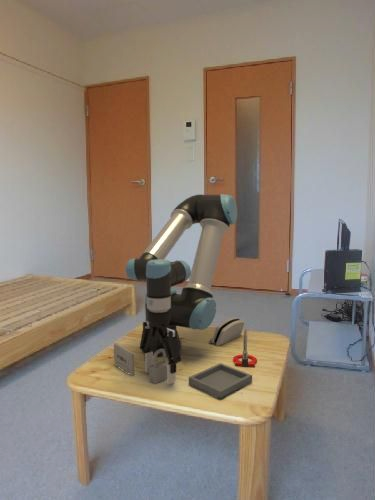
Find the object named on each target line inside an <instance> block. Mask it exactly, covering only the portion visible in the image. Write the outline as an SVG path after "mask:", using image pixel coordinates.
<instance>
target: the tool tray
mask: <svg viewBox="0 0 375 500" xmlns="http://www.w3.org/2000/svg"><path fill="white" fill-rule="evenodd" d="M252 383H253V374H250V373H247V372H245V371H242V370H240V369H237V368H235V367H233V366H229V365H227V364H224V363H223V362H222V363H221V362H220V363H218V364H215V365H213V366H211V367H208V368H207V369H204V370H202V371H200V372H198V373H195V374H193V375H191V376H189V377H188V386H190V387H192V388H194V389H197V390H199V391H200V392H203V393H205V394H207V395H209V396H210V397H211V396H212V397H213V398H215V399H218V400H220V401H222V400H223V399H226V398H227V397H229V396H231V395H232V394H235V393H236V392H238V391H240V390H241V389H243V388H245V387H247V386H249V385H251V384H252Z"/></svg>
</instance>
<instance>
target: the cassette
mask: <svg viewBox="0 0 375 500" xmlns="http://www.w3.org/2000/svg"><path fill="white" fill-rule="evenodd" d="M113 356H114V357H113V359H114V363H115V364H116V365H115V364H114V365H115V367H116V366H118V367H120V368H121V369H123V370H124V371H125V372H124V371H123V372H124V373H126V372H127V373H130V374H131V375H130V374H129V375H130V376H132V375H133V376H135V353H134V352H133V351H131V350H130V349H127V348H126V347H123V346H122V345H120V344H119V343H118V342H115V343H113ZM118 367H117V368H118ZM121 369H120V370H121ZM127 373H126V374H127Z"/></svg>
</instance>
